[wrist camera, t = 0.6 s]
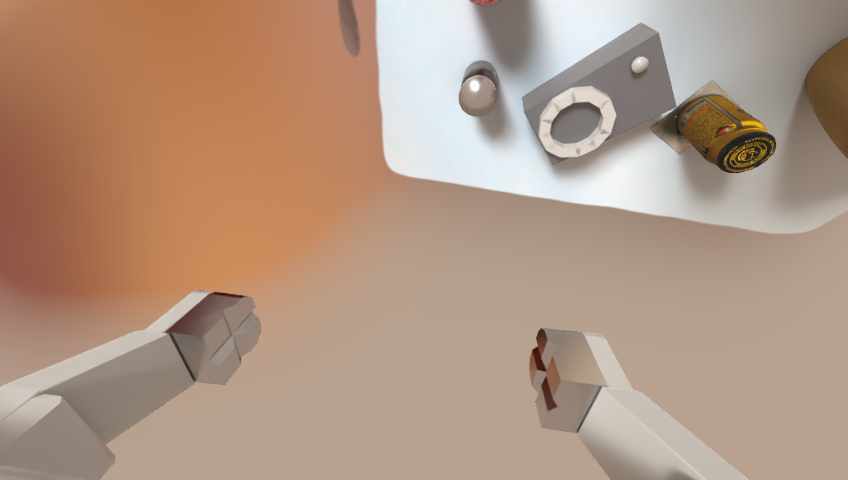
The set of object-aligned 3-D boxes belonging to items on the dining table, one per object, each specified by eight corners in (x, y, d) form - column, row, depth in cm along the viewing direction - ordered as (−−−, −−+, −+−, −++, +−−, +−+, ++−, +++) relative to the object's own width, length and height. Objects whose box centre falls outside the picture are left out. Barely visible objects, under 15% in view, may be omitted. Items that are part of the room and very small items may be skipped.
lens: (485, 52, 44) (484, 69, 38) (502, 83, 46) (503, 102, 40) (457, 74, 46) (451, 92, 41) (474, 102, 49) (471, 123, 43)
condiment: (742, 109, 43) (800, 150, 35) (678, 153, 49) (715, 197, 40) (711, 79, 41) (765, 114, 33) (649, 128, 47) (681, 168, 38)
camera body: (641, 22, 38) (663, 35, 33) (659, 90, 43) (681, 111, 38) (522, 97, 47) (525, 116, 42) (548, 147, 52) (554, 170, 46)
